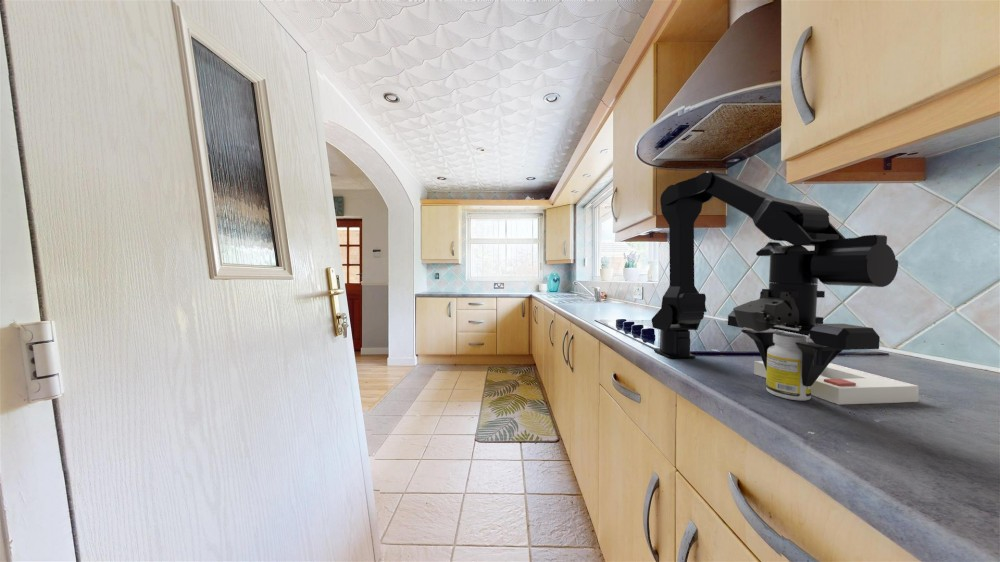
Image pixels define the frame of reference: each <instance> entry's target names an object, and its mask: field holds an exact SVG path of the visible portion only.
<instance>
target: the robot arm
mask: <svg viewBox="0 0 1000 562" xmlns="http://www.w3.org/2000/svg"><path fill="white" fill-rule="evenodd" d="M714 198H716V199H718V200H720V201H722V202H724V203H725V204H727V205H728V206H731V207H732V208H734V209H736V210H738V211H740V212H741V213H743V214H745V215H746V216H748V217H749V218H750V219H752V222H753V224H754V226H755V227H756V228H757V229H758V230H759V231H760V232H761V233H762V234H763V235H765V236H766V237H767V238H768V239H771V240H773V241H769V242H767V243H766V245H765V246H764V247H762V248H761V249H759V250H758V251H756V252H755V255H756V256H757V257H769V271H768V272H769V277H768V288H762V289H761V291H760V294H759V298H758V299H755V300H750V301H748V302H746V303H745V302H744V303H743V304H740V305H738V306H735V307H733V309H732V311H731V312H730V313H729V314H728V315H727V326H730V327H735V328H738V329H740V328H741V332H742V334H745V335H747V336H748V337H749V338H751V339H752V341H754V344H755V345H756V347H757V350H758V352H759V355H760V358H761V361H763V363H764V366H765V368H766V371H767V350H768V348H769V347H771V346H774V345H775V343H774V342H773V334H774V333H790V334H797V335H802V336H805V337H807V342H795V343H796V345H797V346H798V347H799V349H800V350H801V351H802V383H803V386H812V385H813V383H814V382H815V381H816V380H817V378H818V377H819V376H820V374H821V373H822V372H823V371H824V369H825V368H826V367H827V366H828V364H829V363H832V361H833V360H834V359H836V357H838V356H839V355H840V354H841V353H842V352H843V351H851V350H880V340H881V339H880V337H881V336H879V334H878V332H877V331H876V330H875V329H874V328H873V327H870V326H868V327H867V326H862V325H854V324H850V323H849V324H848V323H824V317H823V316H817V305H818V303H817V302H818V298H819V299H820V298H822V299H823V298H825V294H826V293H825V292H826V291H825V290H818V288H819V287H818V284H819V283H818V282H820V283H822V284H823V285H825V286H844V287H845V286H848V287H868V288H869V287H870V288H871V287H872V288H884V287H887V286H889V285H890V284H891V283H892V282H894V280H895V277H896V276H897V273H898V268H899V260H898V259H896V255H895V252H894V250H893V249H892V247H891V246H890V245H888V236H887V235H885V234H868V235H867V234H866V235H861V236H857V237H848V238H846V237H845V236H844V235H843V234H842V233H841V232H840V231H839V230H838V229H837V228H836V227H835V226H834V224H832V223H831V222H830V218H829V217H830V213H829V212H828V210H826V209H825V208H823V207H821V206H817V205H813V204H809V203H805V202H799V201H795V200H790V199H789V200H788V199H783V198H778V197H775V196H773V195H771V194H769V193H766V192H764V191H763V190H761V189H758V188H756V187H753V186H752V185H749V184H747V183H745V182H742V181H740V180H738V179H737V178H734V177H732V176H730V175H729V174H728V173H726V172H721V171H711V170H710V171H705V172H702V173H701V174H699V175H696V176H694V177H691V178H688V179H686V180H682V181H679V182H677V183H675V184H670V185H669V186H667V187H666V188H665V189H664V190H663V191H662V193H661V195H660V198H659V199H660V209H661V215H662V216H663V218H664V220H665V221H666V222H667V224H668V227H669V228H668V229H669V231H668V232H669V234H668V236H669V237H668V238H669V239H668V240H669V241H668V243H669V247H668V249H669V253H668V255H669V285H668V288H667V289H666V291H665V292H664V294H663V296H662V298H661V299H662V300H661V307H660V309H659V310H658V312H656V313H655V314H654V315H653V317H652V318H651V323H652V325H651V326H652V328H653V329H656V330H660V334H659V335H660V336H659V348H654V349H653V352H655V353H657V354H660V355H662V356H664V357H666V358H670V359H694V358H696V357H697V356H696V355H695V354H692V353H691V331H698V330H699V327H700V324H701V321H702V320H703V319H704V317H705V313H707V312H708V310H707V308H706V301H707V297H706V294H705V293H700V292H699V291H698V289H697V288H696V286H695V222H696V220H697V219H698V218H699V216H700V214H701V213H702V208H703V204H706V203H708V202H710V201H712V200H713V199H714ZM776 241H777V242H776ZM778 241H779V242H778ZM780 242H787V243H789V244H790V245H789V244H788V245H782V244H781V243H780ZM806 246H807V247H808V246H810V247H814V250H813V249H812V250H808V249H807V248H806ZM743 328H744V329H743Z"/></svg>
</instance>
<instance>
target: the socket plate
mask: <svg viewBox="0 0 1000 562" xmlns="http://www.w3.org/2000/svg"><path fill="white" fill-rule="evenodd" d="M753 367H754V368H753V369H754V370H753V374H754V375H756V376H759V377H761V378H765V379H766V374H767V371H766V368H765V366H764V363H763V360H754V364H753ZM919 390H920V386H919V385H916V384H912V383H908V382H905V381H901V380H897V379H892V378H889V377H885V376H881V375H879V374H874V373H871V372H870V373H869V372H866V371H862V370H859V369H855V368H850V367H846V366H843V365H840V364H835V363H832V362H830V363H829V364H828V366H827V367H826V368H825V369H824V371H823V372H822V373H821V374H820V376H819V377H818V378H817V380H816V381H815V382H814V383H813V385H812V386H811V396H814V397H817V398H819V399H822V400H823V401H826V402H830V403H833V404H835V405H840V406H841V405H861V404H862V405H863V404H865V405H866V404H868V405H869V404H893V403H896V404H898V403H918V402H919Z"/></svg>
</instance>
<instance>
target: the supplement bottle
mask: <svg viewBox="0 0 1000 562" xmlns="http://www.w3.org/2000/svg"><path fill="white" fill-rule="evenodd" d="M773 342H774V343H775V345H774V346H771V347H769V348H768V350H767V374H766V378H765V379H766V381H765V383H766V384H765V389H766V391H767V392H768V393H770V394H771V395H773V396H776V397H779V398H782V399H786V400H792V401H799V402H800V401H802V402H803V401H809V400H811V398H812V395H811V386H803V383H802V351H801V350H800V349H799V347H798V346H797V345H796V343H795V342H808V337H807V336H806V335H801V334H796V333H790V332H784V333H774V334H773Z"/></svg>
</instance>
